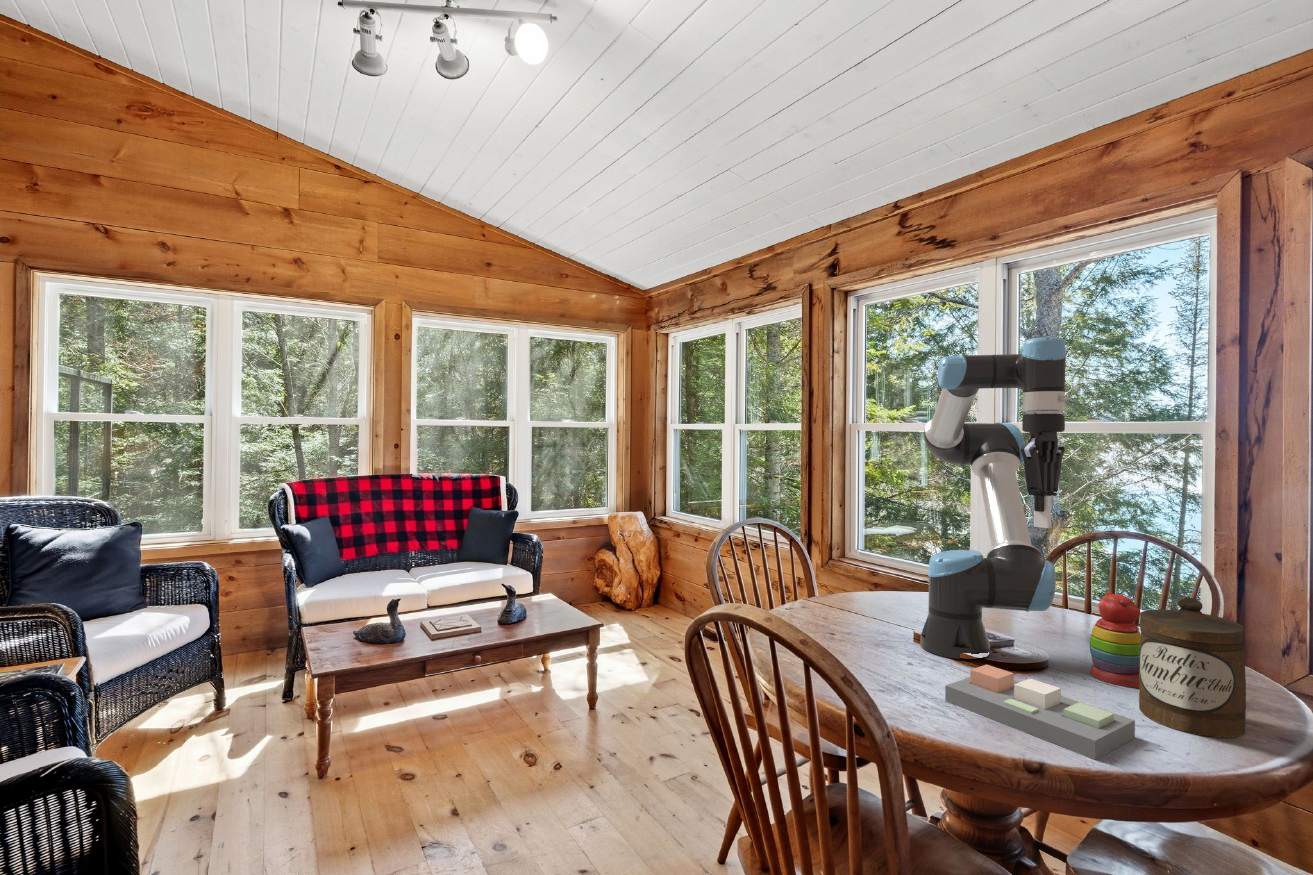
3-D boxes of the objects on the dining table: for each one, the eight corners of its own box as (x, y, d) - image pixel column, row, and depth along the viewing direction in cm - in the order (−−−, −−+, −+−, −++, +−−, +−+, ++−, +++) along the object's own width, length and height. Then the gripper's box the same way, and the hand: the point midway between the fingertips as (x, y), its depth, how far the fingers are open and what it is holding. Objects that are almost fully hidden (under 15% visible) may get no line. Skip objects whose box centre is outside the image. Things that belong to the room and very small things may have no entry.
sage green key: (1063, 726, 110) (1063, 708, 110) (1079, 719, 113) (1079, 702, 113) (1098, 739, 106) (1098, 720, 106) (1113, 731, 109) (1114, 713, 108)
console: (945, 700, 123) (945, 683, 123) (987, 686, 131) (987, 669, 131) (1094, 759, 101) (1095, 738, 101) (1134, 737, 109) (1135, 717, 109)
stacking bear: (1159, 690, 129) (1160, 602, 129) (1103, 686, 131) (1104, 599, 131) (1131, 670, 140) (1132, 589, 140) (1079, 667, 142) (1080, 587, 142)
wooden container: (1127, 715, 117) (1128, 596, 117) (1153, 695, 126) (1154, 584, 126) (1234, 747, 106) (1235, 614, 105) (1254, 723, 115) (1255, 600, 114)
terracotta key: (970, 684, 125) (970, 669, 125) (986, 679, 128) (986, 664, 127) (997, 694, 120) (997, 678, 120) (1013, 688, 123) (1013, 673, 123)
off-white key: (1014, 700, 117) (1014, 684, 117) (1030, 694, 120) (1030, 678, 120) (1044, 711, 113) (1045, 694, 113) (1060, 704, 116) (1060, 688, 116)
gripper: (1045, 412, 125) (1044, 532, 126) (1078, 413, 132) (1077, 527, 132) (1007, 412, 132) (1006, 527, 132) (1041, 414, 139) (1040, 522, 139)
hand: (1042, 527), depth 132 cm, fingers closed
